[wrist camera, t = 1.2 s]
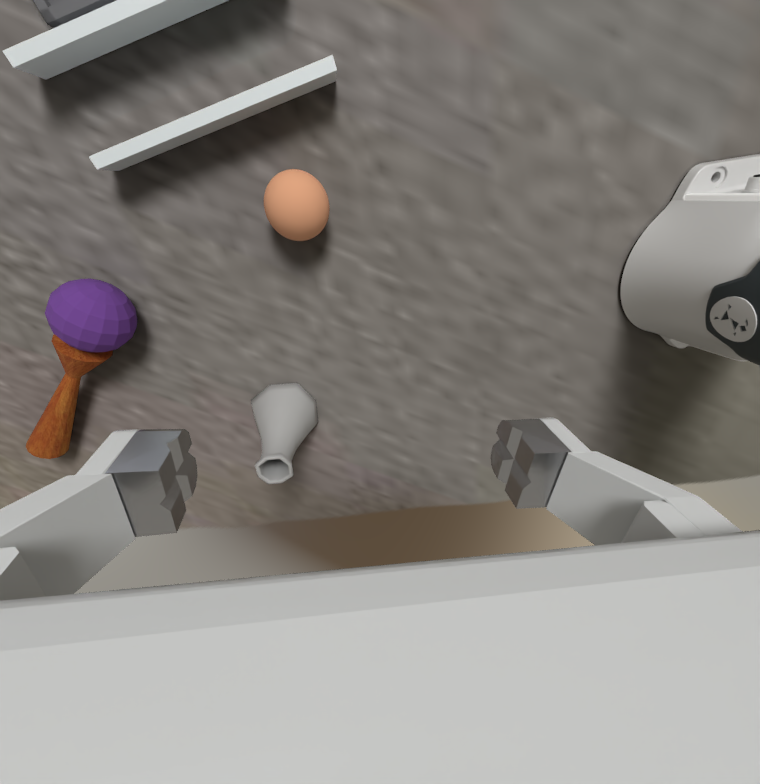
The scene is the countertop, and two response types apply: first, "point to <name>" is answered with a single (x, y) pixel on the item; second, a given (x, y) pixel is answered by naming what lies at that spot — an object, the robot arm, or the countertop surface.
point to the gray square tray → (67, 9)
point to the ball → (296, 205)
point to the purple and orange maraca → (79, 351)
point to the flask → (282, 428)
